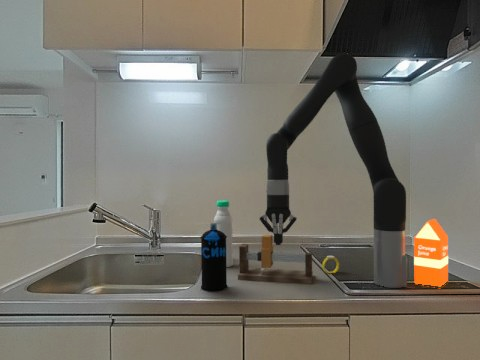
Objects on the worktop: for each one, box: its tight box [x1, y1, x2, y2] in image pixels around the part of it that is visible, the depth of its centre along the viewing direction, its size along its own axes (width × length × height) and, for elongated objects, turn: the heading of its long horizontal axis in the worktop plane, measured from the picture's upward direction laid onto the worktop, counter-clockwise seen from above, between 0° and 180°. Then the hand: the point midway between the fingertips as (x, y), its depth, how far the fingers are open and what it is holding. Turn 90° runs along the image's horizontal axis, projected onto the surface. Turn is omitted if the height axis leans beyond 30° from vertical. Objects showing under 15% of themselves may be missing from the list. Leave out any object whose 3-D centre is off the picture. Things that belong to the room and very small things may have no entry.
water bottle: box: [213, 200, 234, 268], centre depth 143 cm, size 7×7×25 cm
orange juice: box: [413, 218, 449, 287], centre depth 118 cm, size 8×9×20 cm
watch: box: [321, 255, 340, 274], centre depth 132 cm, size 6×3×6 cm, turn 106°
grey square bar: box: [246, 250, 306, 263], centre depth 126 cm, size 20×3×3 cm, turn 76°
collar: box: [260, 234, 274, 269], centre depth 127 cm, size 3×6×10 cm, turn 166°
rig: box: [237, 243, 314, 285], centre depth 126 cm, size 24×10×10 cm, turn 76°
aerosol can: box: [199, 222, 228, 292], centre depth 116 cm, size 8×8×20 cm
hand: (278, 244), depth 126 cm, fingers closed
